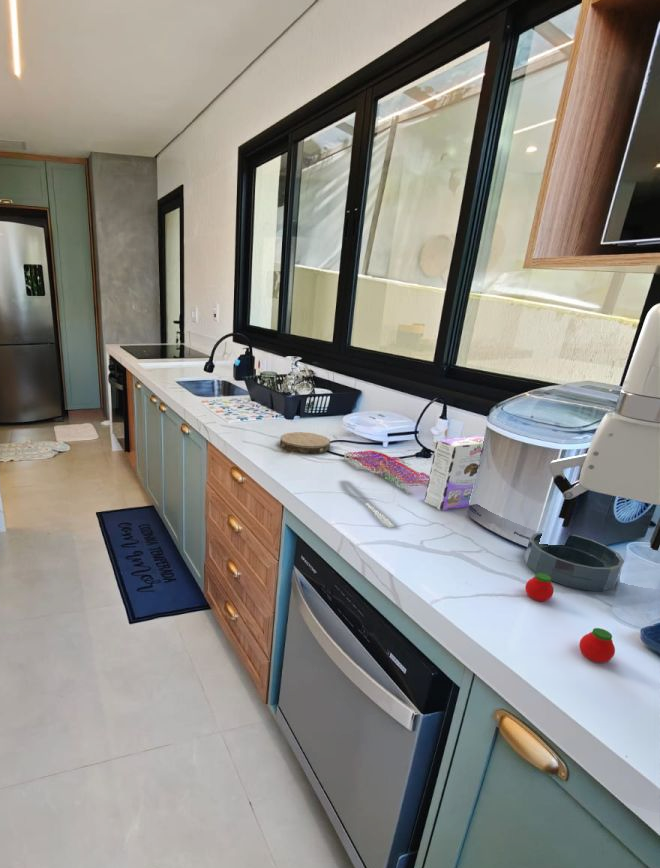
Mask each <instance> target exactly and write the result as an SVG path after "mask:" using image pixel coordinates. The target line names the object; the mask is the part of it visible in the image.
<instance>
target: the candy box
mask: <svg viewBox="0 0 660 868" xmlns="http://www.w3.org/2000/svg"><path fill="white" fill-rule="evenodd" d="M484 437H485V436H483V435H472V436H463V437H455V438H443V439H436V443H435V448H434V453H433V457H432V462H431V467H430V473H429V479H428V480H429V481H427V482H428V483H427V484H428V485H426V486H427V487H426V492H425V496H424V503H426V504H428V505H430V506H432V507H434V508H436V509H438V510H439V511H445V510H451V509H458V508H459V509H460V508H465V507H470V506H469V500H470V496H471V493H472V489H473V485H474V481H475V478H476V474H477V469H478V465H479V459H480V454H481V450H482V446H483V441H484Z"/></svg>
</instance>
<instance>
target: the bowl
mask: <svg viewBox="0 0 660 868" xmlns="http://www.w3.org/2000/svg"><path fill="white" fill-rule="evenodd" d="M541 536H542V533H539V532H534V533H533V534H532V535H531V536H530V537H529V541H528V543H527V547H526V551H525V554H524V556H523V557H524V561H525V564H526V566H527V567H528V568H529V569H531V570H532V571H533V572H534V573H536V574H537V573H543V574H546V575H548V576H550V577H551V582H554V583H557V584H559V585H562V586H565V587H567V588H572V589H577V590H581V591H588V592H603V591H604V592H605V591H608V590H611V589H614V588H615V585H616V583H617V581H618V579H619V577H620V573H621V571H622V568H623V566H624V563H625V560H624V558H623V557H622V556H621V554H620V553H618V552H617V551H616V550H614V549H613V548H611V547H609V546H608V545H605V544H603V543H601V542H598V541H596V540H594V539H591V538H587V537H585V536H581V535H577V534H573V535H569V537H568V539H567V541H566V543H565V545H548V544H539V542H540V538H541Z"/></svg>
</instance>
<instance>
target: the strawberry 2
mask: <svg viewBox="0 0 660 868" xmlns="http://www.w3.org/2000/svg"><path fill="white" fill-rule="evenodd" d="M578 644H579V650H580V652H581V654H582V655H583V656H584V657H585V658H586V659H588V660H590V661H592V662H595V663H606V662H609V661H610V660H612V659H613V658H614V656H615V653H616V647H615V644H614V642H613V634H612V633H610V632H609V631H608V630H606V629H603V628H600V627H595V628H593V629H592V631H590V632H589V633H586V634H585V635H583V636H582V637H581V639H580V641H579V643H578Z"/></svg>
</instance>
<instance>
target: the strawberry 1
mask: <svg viewBox="0 0 660 868" xmlns="http://www.w3.org/2000/svg"><path fill="white" fill-rule="evenodd" d="M524 588H525V589H524V590H525V593H526V595H527V596H528V597H529V598H530V599H532V600H534V601H538V602H546V601H548V600H550V599H551V598H552V597H553V595H554V592H555V591H554V590H555V589H554V586H553V584H552V581H551V577H550V576H548V575H546V574H543V573H536V574H535V575H534V576H533V577H531V578H530V579H528V581H526V583H525V587H524Z"/></svg>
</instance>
